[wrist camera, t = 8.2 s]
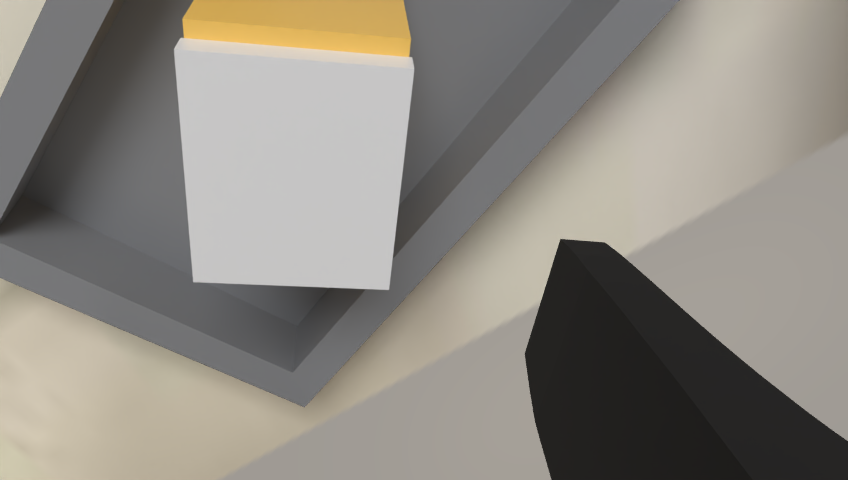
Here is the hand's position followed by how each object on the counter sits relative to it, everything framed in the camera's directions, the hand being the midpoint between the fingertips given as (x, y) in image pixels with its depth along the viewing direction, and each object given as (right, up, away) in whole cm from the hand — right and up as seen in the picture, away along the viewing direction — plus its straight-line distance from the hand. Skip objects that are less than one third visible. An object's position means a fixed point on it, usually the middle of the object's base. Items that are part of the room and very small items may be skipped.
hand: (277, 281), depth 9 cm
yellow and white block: (-1, +5, +7) cm, 9 cm away
